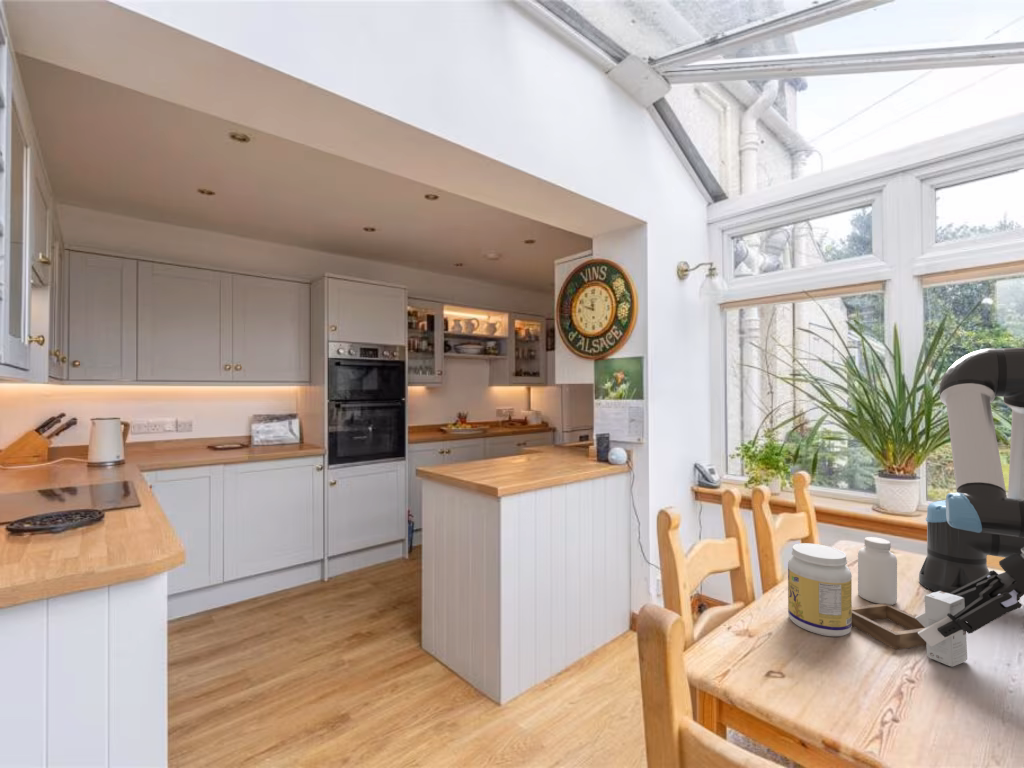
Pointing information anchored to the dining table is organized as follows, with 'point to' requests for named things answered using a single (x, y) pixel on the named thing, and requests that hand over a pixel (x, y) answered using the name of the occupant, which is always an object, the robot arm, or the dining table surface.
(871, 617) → the holder
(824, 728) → the dining table surface
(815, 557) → the supplement tub
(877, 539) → the pill bottle
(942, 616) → the skincare box
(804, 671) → the dining table surface
